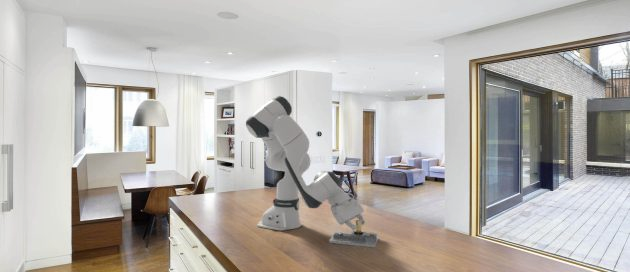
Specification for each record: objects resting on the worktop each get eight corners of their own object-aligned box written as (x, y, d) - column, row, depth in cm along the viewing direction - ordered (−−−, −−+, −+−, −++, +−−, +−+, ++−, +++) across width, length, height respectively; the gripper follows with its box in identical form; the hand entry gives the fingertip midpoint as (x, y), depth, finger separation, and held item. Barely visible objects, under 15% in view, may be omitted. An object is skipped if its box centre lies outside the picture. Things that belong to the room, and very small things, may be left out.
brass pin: (355, 239, 149) (355, 221, 149) (356, 237, 151) (356, 219, 151) (360, 239, 148) (360, 221, 148) (361, 238, 150) (361, 220, 150)
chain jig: (328, 242, 147) (328, 233, 147) (335, 234, 159) (335, 226, 159) (375, 247, 142) (375, 238, 142) (378, 238, 153) (378, 229, 153)
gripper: (333, 201, 144) (354, 228, 139) (354, 193, 161) (373, 217, 156) (324, 210, 146) (344, 237, 142) (345, 202, 164) (364, 225, 159)
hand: (359, 226), depth 149 cm, fingers open, 8 cm apart
